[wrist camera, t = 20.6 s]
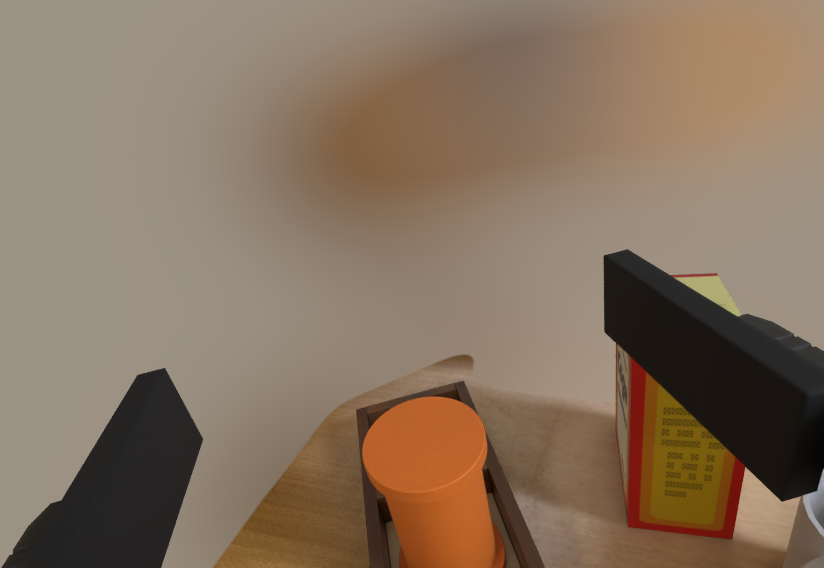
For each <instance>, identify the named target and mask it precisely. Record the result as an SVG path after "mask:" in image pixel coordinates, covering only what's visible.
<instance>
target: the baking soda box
mask: <svg viewBox="0 0 824 568" xmlns="http://www.w3.org/2000/svg"><path fill="white" fill-rule="evenodd" d="M670 276H672V277H674V278H675V279H677V280H679V281H680V282H682V283H683V284H685V285H687V286H688V287H690V288H692V289H693V290H695V291H697V292H698V293H700V294H701V295H703V296H705V297H706V298H708V299H710V300H711V301H713V302H715V303H716V304H718V305H720V306H721V307H723V308H724V309H726V310H728V311H729V312H731V313H733V314H734V315H736V316H741V314H740V312H739V310H738V309H737V307H736V305H735V304H734V302H733V300H732V298H731V297H730V295H729V293H728V292H727V290H726V288H725V287H724V285H723V283H722V282H721V280H720V278H719V277H718V275H717V274H716V273H715V274H690V275H670ZM616 437H617V444H618V452H619V460H620V468H621V476H622V483H623V491H624V499H625V507H626V515H627V522H628V527H632V528H641V529H649V530H658V531H666V532H675V533H683V534H692V535H700V536H709V537H717V538H726V539H732V538H733V533H734V527H735V521H736V516H737V510H738V505H739V499H740V493H741V488H742V482H743V477H744V471H745V466H744V465H743V464H742V463H741V462H740V461H739V460H738V459H737V458H736V457H735V456H734V455H733V454H732V453H731V452H730V451H728V450H727V449H726V448H725V447H724V446H723V445H722V444H721V443H720V442H719V441H718V440H717V439H716V438H715V437H714V436H713V435H712V434H711V433H710V432H709V431H708V430H707V429H705V428H704V427H703V426H702V425H701V424H700V423H699V422H698V421H697V420H696V419H695V418H694V417H693V416H692V415H691V414H690V413H689V412H688V411H687V410H686V409H685V408H684V407H682V406H681V405H680V404H679V403H678V402H677V401H676V400H675V399H674V398H673V397H672V396H671V395H670V394H669V393H668V392H667V391H666V390H665V389H664V388H663V387H662V386H661V385H659V384H658V383H657V382H656V381H655V380H654V379H653V378H652V377H651V376H650V375H649V374H648V373H647V372H646V371H645V370H644V369H643V368H642V367H641V366H640V365H639V364H637V363H636V362H635V361H634V360H633V359H632V358H631V357H630V356H629V355H628V354H627V353H626V352H625V351H624V350H623V349H622V348H621V347H620V346H619V345H618V344H617V343H616Z"/></svg>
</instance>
